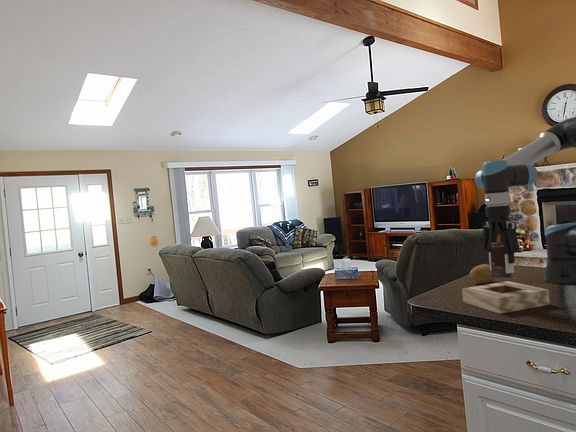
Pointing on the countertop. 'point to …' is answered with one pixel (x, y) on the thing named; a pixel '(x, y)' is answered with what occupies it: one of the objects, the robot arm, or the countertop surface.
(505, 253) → the robot arm
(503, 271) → the box
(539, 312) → the countertop surface
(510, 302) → the square frame
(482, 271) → the potato
